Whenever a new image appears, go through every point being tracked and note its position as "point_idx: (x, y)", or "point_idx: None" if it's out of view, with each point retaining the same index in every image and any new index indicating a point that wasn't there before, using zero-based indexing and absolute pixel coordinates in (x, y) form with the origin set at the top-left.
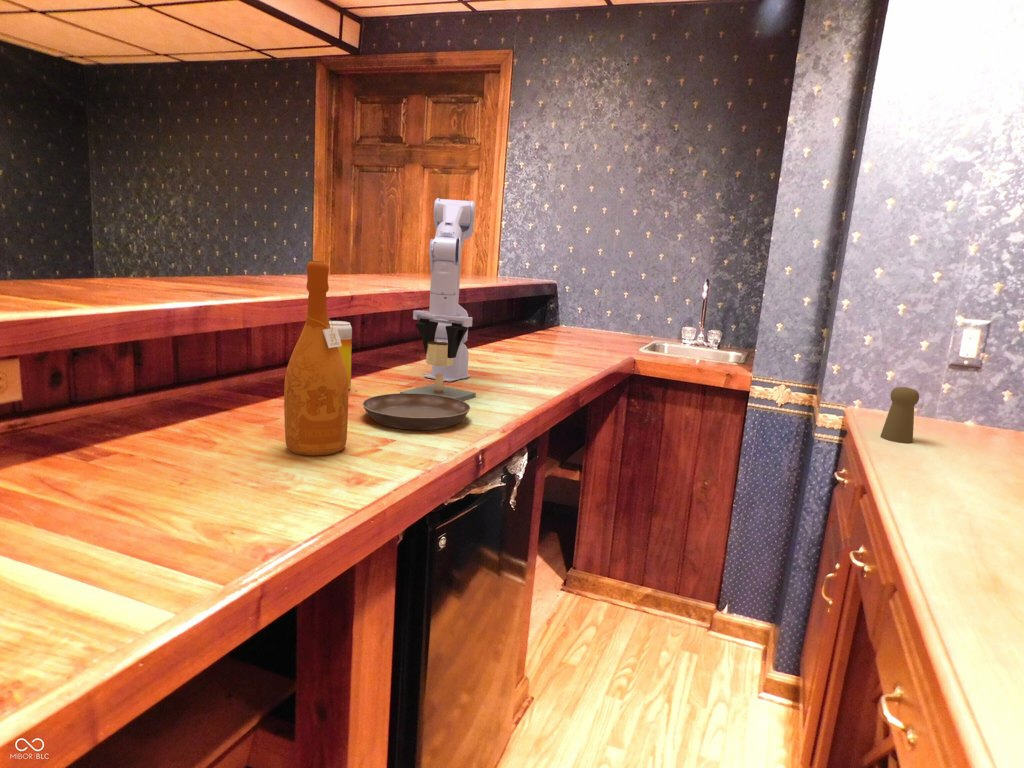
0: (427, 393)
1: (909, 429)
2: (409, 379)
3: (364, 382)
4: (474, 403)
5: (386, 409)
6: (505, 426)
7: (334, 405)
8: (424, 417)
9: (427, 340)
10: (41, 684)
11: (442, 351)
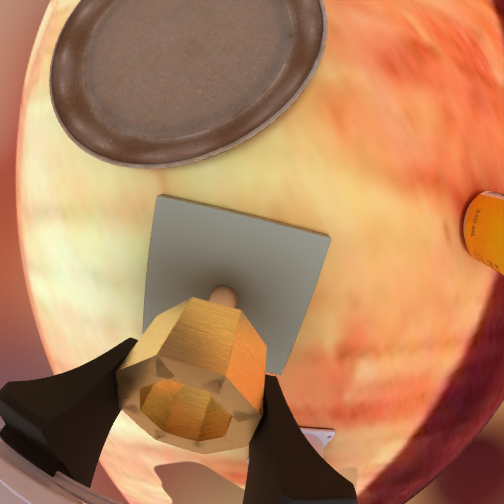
0: (246, 265)
1: None
2: (361, 404)
3: (447, 325)
4: (117, 270)
5: (282, 53)
6: (21, 124)
7: None
8: None
9: (265, 428)
10: None
11: (146, 345)
